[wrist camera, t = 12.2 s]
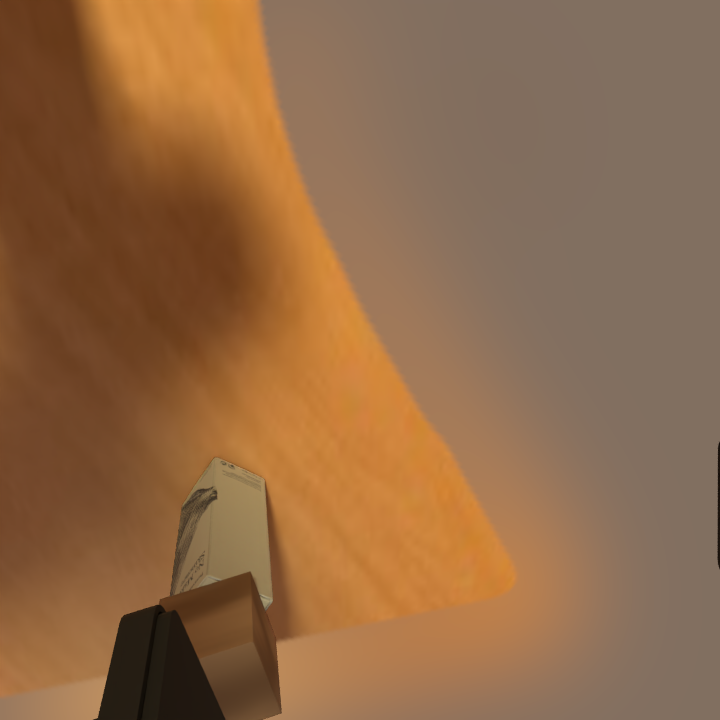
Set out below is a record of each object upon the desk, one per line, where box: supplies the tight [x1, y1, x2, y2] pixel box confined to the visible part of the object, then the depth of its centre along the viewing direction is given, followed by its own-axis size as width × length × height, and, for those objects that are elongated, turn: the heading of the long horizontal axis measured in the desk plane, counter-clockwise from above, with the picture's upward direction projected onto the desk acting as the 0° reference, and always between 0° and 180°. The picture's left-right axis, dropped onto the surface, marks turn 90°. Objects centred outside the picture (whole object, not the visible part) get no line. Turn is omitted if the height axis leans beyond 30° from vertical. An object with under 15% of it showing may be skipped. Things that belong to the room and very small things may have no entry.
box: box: [170, 457, 273, 611], centre depth 41 cm, size 5×4×13 cm
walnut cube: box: [159, 571, 282, 720], centre depth 32 cm, size 5×5×5 cm
